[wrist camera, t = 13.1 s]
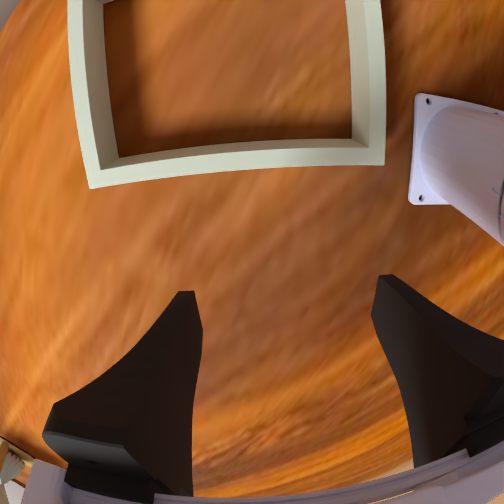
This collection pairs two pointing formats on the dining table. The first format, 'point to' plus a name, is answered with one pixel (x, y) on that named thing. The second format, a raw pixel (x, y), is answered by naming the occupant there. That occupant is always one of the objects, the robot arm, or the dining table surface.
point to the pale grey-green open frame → (230, 154)
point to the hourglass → (11, 465)
